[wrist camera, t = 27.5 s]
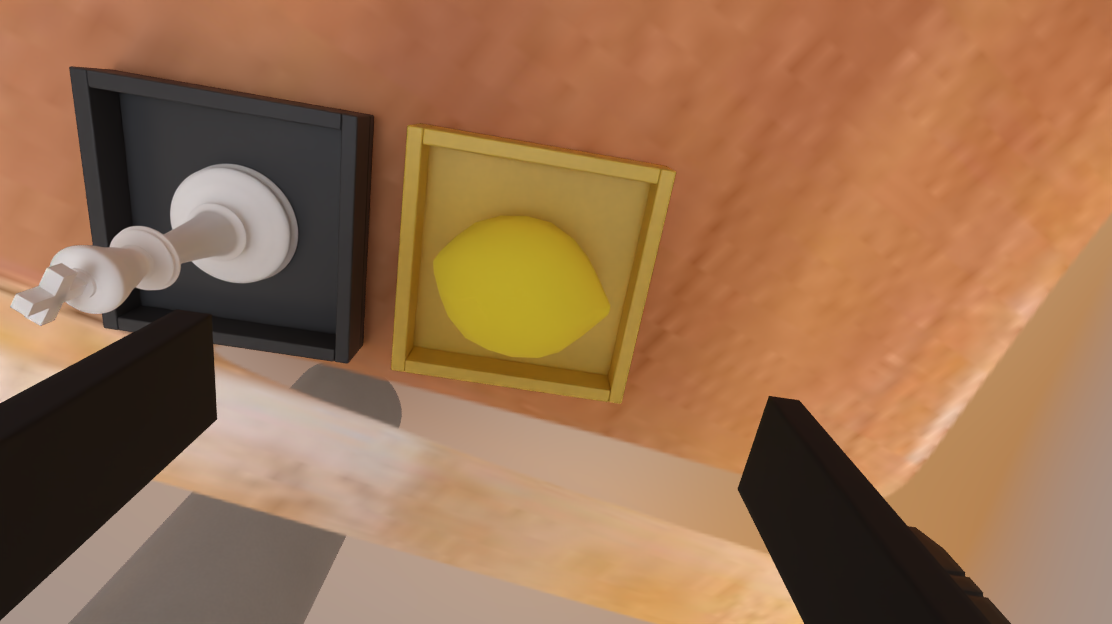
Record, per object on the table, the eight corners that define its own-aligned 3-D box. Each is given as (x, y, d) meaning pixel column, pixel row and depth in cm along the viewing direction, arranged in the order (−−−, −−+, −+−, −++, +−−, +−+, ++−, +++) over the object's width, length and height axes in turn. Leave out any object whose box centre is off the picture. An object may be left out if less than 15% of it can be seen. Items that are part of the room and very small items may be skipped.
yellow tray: (402, 351, 26) (390, 370, 24) (419, 123, 22) (406, 124, 20) (616, 383, 26) (621, 404, 24) (667, 166, 23) (677, 171, 21)
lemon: (432, 301, 24) (399, 353, 19) (462, 182, 22) (434, 204, 17) (583, 344, 25) (589, 405, 20) (623, 232, 23) (642, 268, 18)
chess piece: (159, 234, 23) (-111, 321, 14) (210, 137, 22) (-50, 161, 12) (264, 302, 24) (81, 425, 15) (320, 213, 23) (156, 288, 14)
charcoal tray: (137, 311, 25) (103, 328, 23) (111, 69, 21) (68, 66, 20) (363, 345, 26) (348, 364, 24) (374, 115, 22) (357, 116, 20)
